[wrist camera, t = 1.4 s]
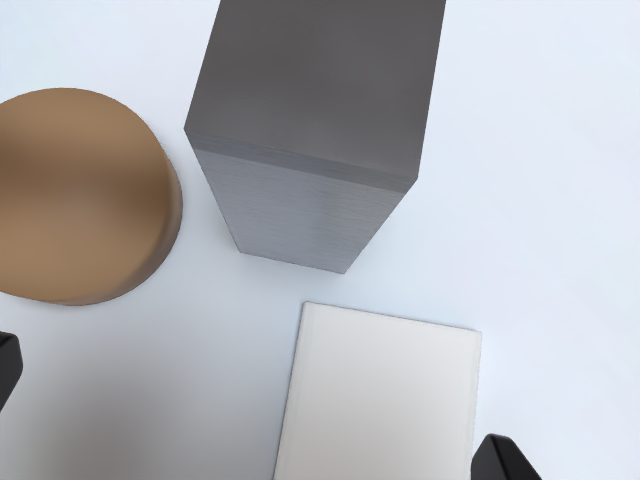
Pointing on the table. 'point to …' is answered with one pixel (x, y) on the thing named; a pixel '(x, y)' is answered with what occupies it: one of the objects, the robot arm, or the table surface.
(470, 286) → the table surface
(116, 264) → the stand
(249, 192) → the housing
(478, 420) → the table surface
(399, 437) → the external hard drive
